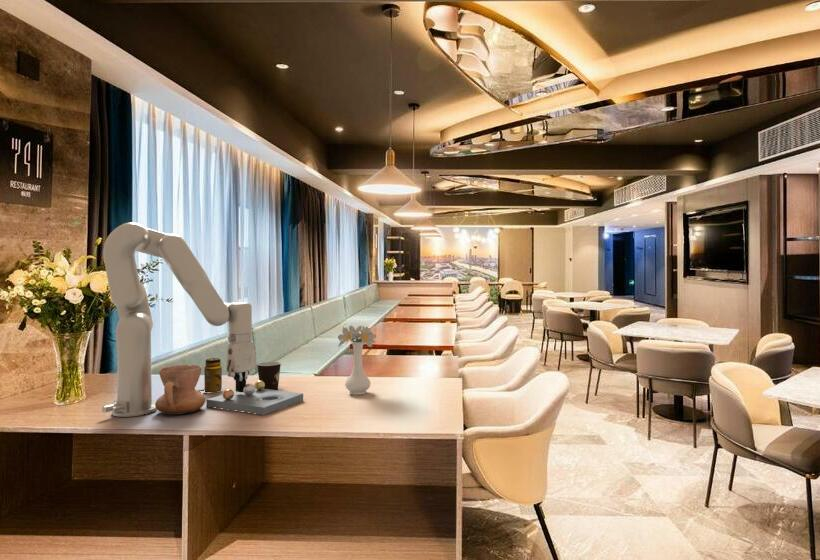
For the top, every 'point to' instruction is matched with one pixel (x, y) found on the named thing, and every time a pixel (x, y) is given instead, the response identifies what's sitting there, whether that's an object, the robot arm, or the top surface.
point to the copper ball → (228, 394)
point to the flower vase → (357, 357)
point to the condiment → (212, 375)
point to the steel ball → (249, 389)
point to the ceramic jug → (180, 389)
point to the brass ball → (259, 385)
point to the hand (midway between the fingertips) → (240, 391)
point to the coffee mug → (269, 374)
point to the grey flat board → (257, 401)
